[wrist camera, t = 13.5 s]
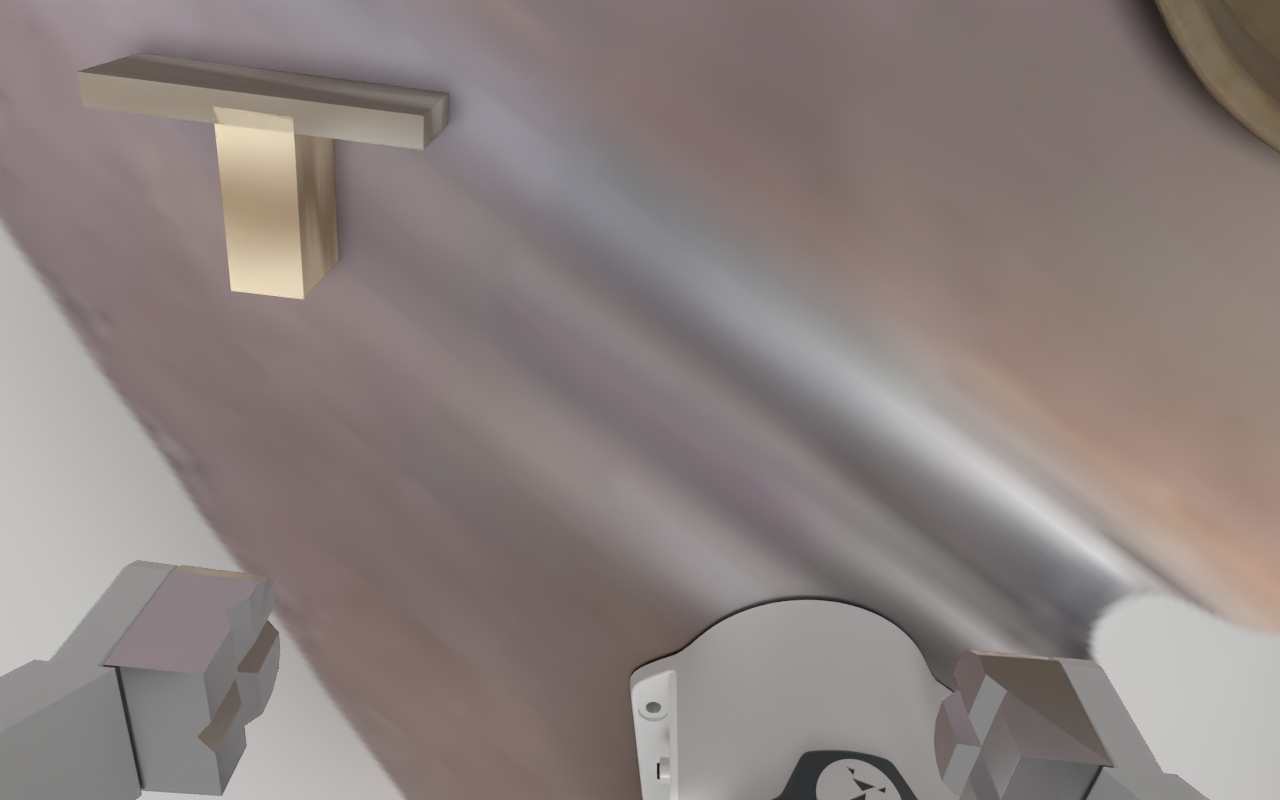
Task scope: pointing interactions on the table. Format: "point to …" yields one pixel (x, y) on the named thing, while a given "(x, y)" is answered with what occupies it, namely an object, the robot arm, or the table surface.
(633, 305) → the table surface
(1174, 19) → the plant saucer
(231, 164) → the scraper
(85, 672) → the robot arm
